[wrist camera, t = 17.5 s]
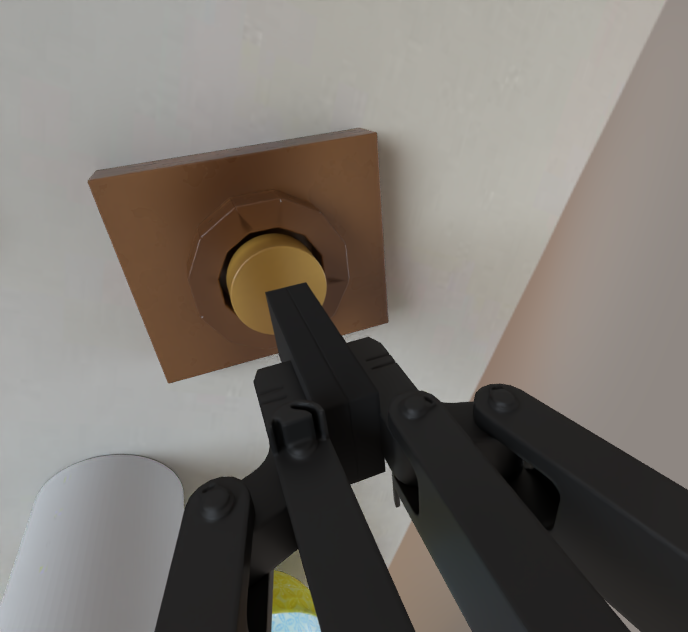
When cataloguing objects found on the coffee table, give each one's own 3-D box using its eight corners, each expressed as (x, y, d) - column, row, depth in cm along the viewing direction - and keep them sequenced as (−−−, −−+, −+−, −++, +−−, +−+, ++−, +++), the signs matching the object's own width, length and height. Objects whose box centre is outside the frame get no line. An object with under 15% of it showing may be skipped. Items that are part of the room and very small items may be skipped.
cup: (5, 535, 25) (-108, 838, 15) (80, 436, 24) (13, 695, 14) (138, 560, 29) (120, 807, 19) (209, 477, 28) (228, 697, 18)
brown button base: (359, 127, 21) (394, 136, 18) (373, 305, 26) (402, 338, 23) (95, 170, 18) (77, 190, 15) (168, 360, 23) (167, 407, 20)
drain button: (309, 224, 19) (320, 236, 17) (321, 304, 21) (332, 321, 19) (215, 244, 18) (219, 258, 16) (237, 326, 20) (242, 345, 18)
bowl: (201, 519, 30) (207, 611, 24) (335, 536, 35) (362, 614, 30) (132, 626, 32) (125, 730, 27) (267, 626, 38) (281, 711, 33)
